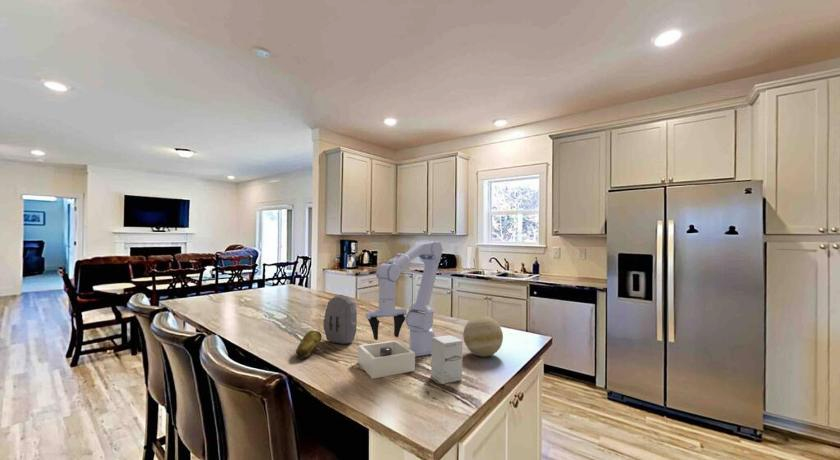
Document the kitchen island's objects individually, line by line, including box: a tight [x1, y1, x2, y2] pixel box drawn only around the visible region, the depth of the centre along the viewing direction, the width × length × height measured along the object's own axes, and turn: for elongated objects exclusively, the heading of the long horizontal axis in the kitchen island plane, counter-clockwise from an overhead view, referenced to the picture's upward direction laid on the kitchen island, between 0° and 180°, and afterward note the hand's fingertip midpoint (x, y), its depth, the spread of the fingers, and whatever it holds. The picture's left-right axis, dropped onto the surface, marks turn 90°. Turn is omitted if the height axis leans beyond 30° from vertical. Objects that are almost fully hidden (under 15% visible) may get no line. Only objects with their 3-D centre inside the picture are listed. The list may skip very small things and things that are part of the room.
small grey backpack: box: [323, 294, 358, 345], centre depth 142 cm, size 15×8×20 cm, turn 66°
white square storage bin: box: [357, 340, 416, 379], centre depth 117 cm, size 15×15×6 cm
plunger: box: [375, 347, 394, 358], centre depth 117 cm, size 11×11×5 cm
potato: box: [295, 330, 322, 360], centre depth 127 cm, size 8×13×8 cm, turn 154°
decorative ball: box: [462, 315, 504, 358], centre depth 130 cm, size 15×15×15 cm
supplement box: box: [430, 334, 463, 385], centre depth 109 cm, size 7×7×13 cm
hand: (386, 337), depth 117 cm, fingers open, 7 cm apart
